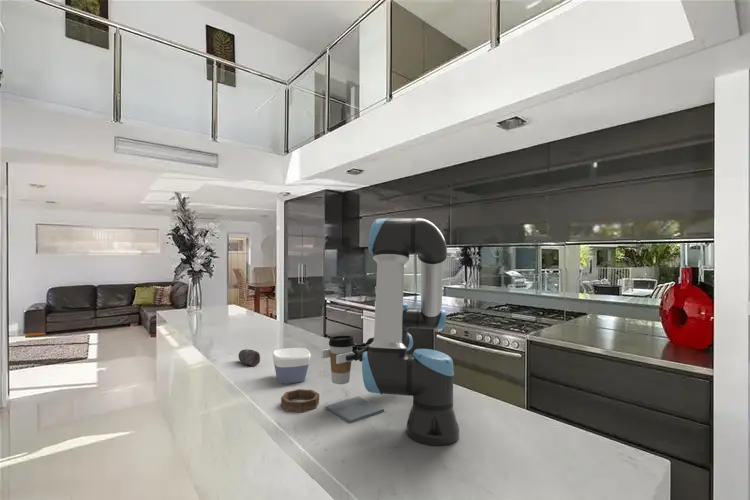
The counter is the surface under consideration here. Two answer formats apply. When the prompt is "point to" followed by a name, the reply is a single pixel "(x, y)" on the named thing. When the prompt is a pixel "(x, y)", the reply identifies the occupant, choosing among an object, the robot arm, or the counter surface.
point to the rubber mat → (354, 409)
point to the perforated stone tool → (249, 357)
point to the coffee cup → (338, 347)
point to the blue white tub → (291, 364)
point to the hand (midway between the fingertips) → (329, 356)
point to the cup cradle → (299, 405)
